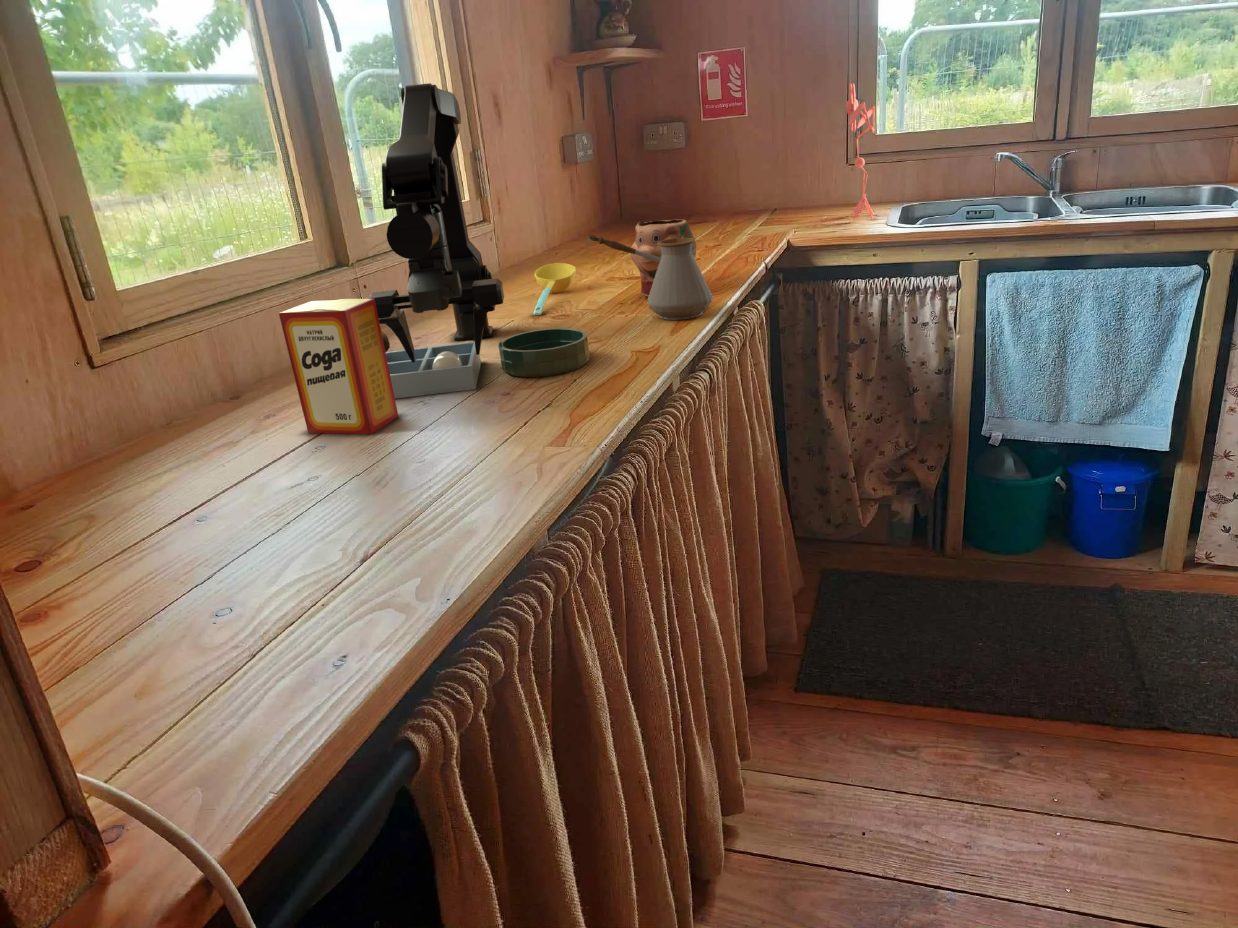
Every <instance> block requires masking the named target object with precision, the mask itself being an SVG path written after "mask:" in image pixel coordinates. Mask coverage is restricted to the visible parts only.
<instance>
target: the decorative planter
mask: <svg viewBox="0 0 1238 928" xmlns="http://www.w3.org/2000/svg"><path fill="white" fill-rule="evenodd" d="M634 229H635V230H634V231H635V240H634V242H633V243H632V245H631V246H630V247H631V248H633V249H636V250H638V251H641V252H644V253H647V254H651V255H654V256H657V257H661V256H662V252H661V249H660V246H658V245H657V242H659V241H662V240H667V239H674V238H693V239H694V240H695V241H694V242H693V243H692V250H691V252H692V254H693V256H694V258H695V259H696V257H697V242H696V238H695V236H694V234H693V232H692V231H691V228H690V225H689V223H688V221H687V220H686V219H683V218H682V219H666V220H665V219H663V220H662V219H661V220H652V221H651V220H650V221H639V222H638V223H637V224H636V226H635V228H634ZM630 255H631V260H632V262H633V264H634V265H635V266H636V268H637V269H638V271H639V275H640V284H641V289H640V294H641V295H643V296H645V297H649V294H650V291H651V288H652V284H653V281H654V278H655V275H656V272H657V269H658V266H659V263H658V262H655V261H652V260H650V259H647V258H644V257H641V256H639V255H636V254H631V253H630Z"/></svg>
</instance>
